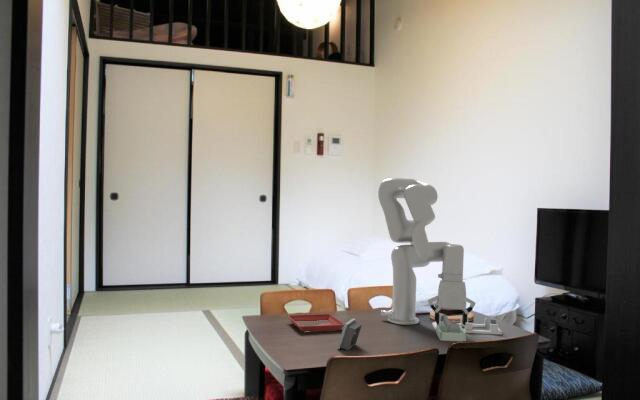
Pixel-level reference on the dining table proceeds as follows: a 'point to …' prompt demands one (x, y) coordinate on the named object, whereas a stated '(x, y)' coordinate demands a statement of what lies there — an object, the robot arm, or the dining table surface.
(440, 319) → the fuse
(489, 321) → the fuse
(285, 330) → the dining table surface
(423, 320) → the dining table surface
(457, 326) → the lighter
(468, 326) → the fuse panel
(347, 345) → the electrical switch
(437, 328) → the tray
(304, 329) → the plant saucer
